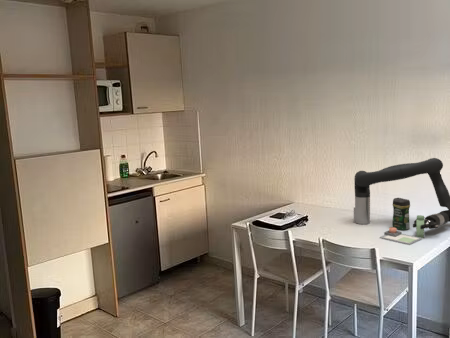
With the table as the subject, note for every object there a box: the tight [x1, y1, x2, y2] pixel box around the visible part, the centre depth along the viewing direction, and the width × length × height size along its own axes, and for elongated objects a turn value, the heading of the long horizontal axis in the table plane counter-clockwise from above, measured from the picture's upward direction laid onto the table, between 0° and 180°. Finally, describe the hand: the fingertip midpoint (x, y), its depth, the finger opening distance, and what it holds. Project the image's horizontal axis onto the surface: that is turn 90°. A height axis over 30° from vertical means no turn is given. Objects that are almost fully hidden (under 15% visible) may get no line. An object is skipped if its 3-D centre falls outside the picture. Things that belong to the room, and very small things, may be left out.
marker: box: [415, 214, 425, 238], centre depth 251 cm, size 4×4×12 cm
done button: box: [388, 226, 398, 233], centre depth 256 cm, size 4×4×2 cm
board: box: [379, 230, 424, 246], centre depth 250 cm, size 18×14×2 cm
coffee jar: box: [391, 197, 411, 231], centre depth 268 cm, size 10×8×19 cm
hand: (417, 226), depth 249 cm, fingers closed on marker, 4 cm apart
